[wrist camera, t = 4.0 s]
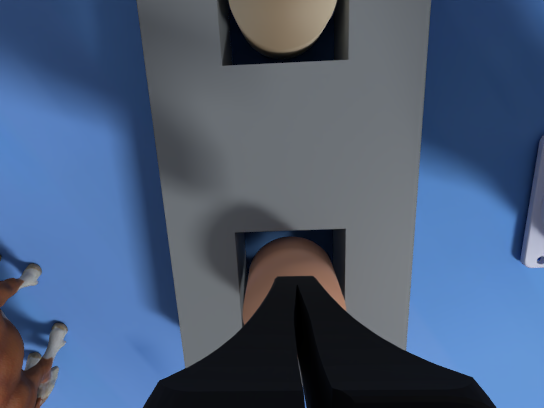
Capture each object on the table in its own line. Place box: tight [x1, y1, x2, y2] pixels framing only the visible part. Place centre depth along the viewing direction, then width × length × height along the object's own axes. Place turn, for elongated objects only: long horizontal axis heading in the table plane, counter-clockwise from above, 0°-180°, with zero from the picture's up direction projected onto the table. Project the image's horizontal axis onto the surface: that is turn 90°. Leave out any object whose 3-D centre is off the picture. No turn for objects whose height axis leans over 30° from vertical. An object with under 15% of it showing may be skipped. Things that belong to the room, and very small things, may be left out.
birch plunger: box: [228, 0, 337, 59], centre depth 15 cm, size 4×4×4 cm
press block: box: [136, 0, 431, 386], centre depth 18 cm, size 12×26×4 cm, turn 2°
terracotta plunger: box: [243, 236, 346, 325], centre depth 16 cm, size 4×4×4 cm
